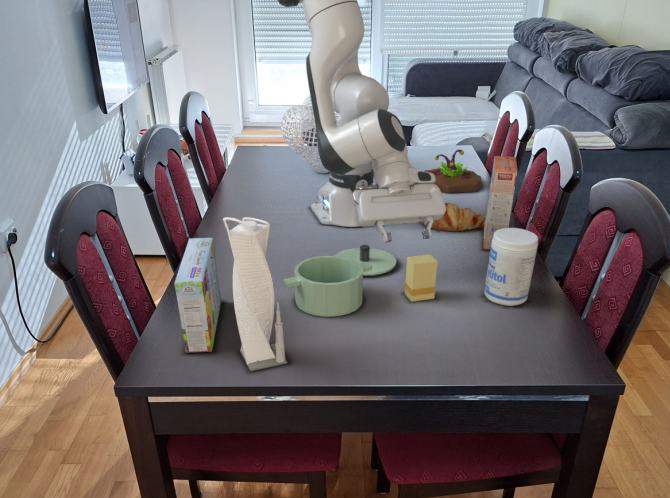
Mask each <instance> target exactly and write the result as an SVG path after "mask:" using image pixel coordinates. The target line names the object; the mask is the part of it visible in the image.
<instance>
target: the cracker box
mask: <svg viewBox="0 0 670 498" xmlns="http://www.w3.org/2000/svg"><path fill="white" fill-rule="evenodd" d="M491 171H492V172H491V178H490V185H489V192H488V199H487V205H486V212H485V213H486V214H485V218H486V220H485V227H483V247H482V249H483V250H487V251H490V250H491V244H492V239H493V236H494V233H495V231H497V230H499V229H503V228H510V227H509V226H510V222H511V221H510V220H511V214H512V209H513V208H512V207H513V201H514V196H515V189H516V183H517V177H518V165H517V157H515V156H505V155H494V156H493V163H492V170H491Z"/></svg>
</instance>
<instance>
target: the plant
mask: <svg viewBox="0 0 670 498" xmlns="http://www.w3.org/2000/svg"><path fill="white" fill-rule="evenodd" d="M457 153H458V154H459V155H460V156H464V155H465V151H464V150H463V149H456V150H455V151H454V152H453V154H452V155H451V159H449V157H448V156H447V155H445V154H442V153H441V154H437V155H436V156H434V160H435V161H438V160H439V159H440V157H442V158H444V160H445V162H446V163H445V162H442V161H441V162H440V166H437V168H432V169H426V170H425V169H424V171H425V172H429V173H433V174H434V175H435V182H434V184H435V185H437V186H438V187H439V189H440V191H441V193H447V194H455V193H458V194H459V193H475V192H476V191H477V190H478V189H481V188H482V182H483V178H482V176H481V175H479V174H478V173H477V172H475V171H473V170H469V169H468V168H469V167H468V166H466V167H463V163H461V162H460V161H459V162H456V159H455V158H456V155H457ZM455 162H456V163H455Z"/></svg>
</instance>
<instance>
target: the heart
mask: <svg viewBox="0 0 670 498" xmlns="http://www.w3.org/2000/svg"><path fill="white" fill-rule="evenodd" d="M334 112H335V111H334ZM306 113H307V114H306ZM302 116H303V118H302ZM335 118H337V119H336V123H337V125H338V126H339V125H340V119H341V116H340V114H339V113H337V112H335ZM298 121H299V122H298ZM302 121H303V122H302ZM280 131H281V135H282V137H283V140H284V142H285V143H286V144H287V146H288V147H289V148H290V149H291V150H292V151H293V152H294V153H295V154H296V155H298V156H299V157H300V158H301V159H302V160H303V161H304V162H306V164H308V165H309V166H310V167H311V168H312V169H314V170H315V171H316V172H318V173H320V174H327V173H330V172H329V171H328V170H327V169H325V168H324V166H323V164H322V162H321V160H320V157H319V152H318V145H317V141H315V139H316V140H317V136H316V134H317V132H316V125H315V119H314V114H313V108H312V106H310V105H307V104H297V105H294V106H291V107H290V108H289V109H287V110H286V111H285V113H284V114H283V116H282V118H281V122H280ZM294 136H295V137H294ZM302 137H303V138H304V139H303V138H302ZM306 138H308V139H307V140H306ZM311 139H312V141H310V140H311ZM301 142H302V143H301ZM305 143H307V144H305ZM310 144H311V146H310ZM315 144H316V146H315ZM315 149H316V150H315Z"/></svg>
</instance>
